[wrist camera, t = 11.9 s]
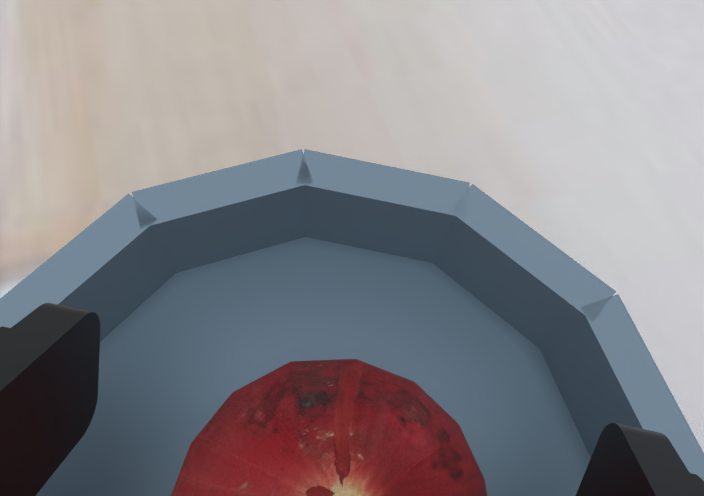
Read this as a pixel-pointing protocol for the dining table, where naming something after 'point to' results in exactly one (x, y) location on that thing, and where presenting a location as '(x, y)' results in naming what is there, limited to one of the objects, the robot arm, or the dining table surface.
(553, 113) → the dining table surface
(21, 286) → the bowl
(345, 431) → the onion
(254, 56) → the dining table surface
